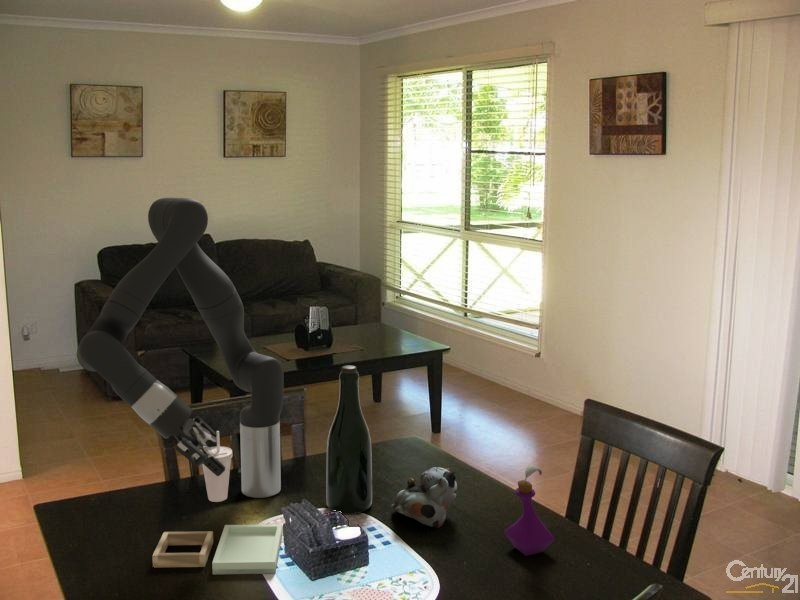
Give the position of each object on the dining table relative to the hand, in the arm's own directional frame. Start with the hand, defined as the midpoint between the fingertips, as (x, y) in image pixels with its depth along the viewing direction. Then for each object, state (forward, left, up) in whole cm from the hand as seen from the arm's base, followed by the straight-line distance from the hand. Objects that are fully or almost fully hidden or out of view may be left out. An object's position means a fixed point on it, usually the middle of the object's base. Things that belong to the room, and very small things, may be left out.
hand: (225, 465), depth 164 cm
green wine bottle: (-22, +24, -19) cm, 38 cm away
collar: (0, -9, -19) cm, 21 cm away
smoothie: (0, -2, -7) cm, 7 cm away
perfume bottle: (0, +61, -19) cm, 64 cm away
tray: (0, +4, -19) cm, 19 cm away
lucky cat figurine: (-15, +41, -19) cm, 48 cm away
